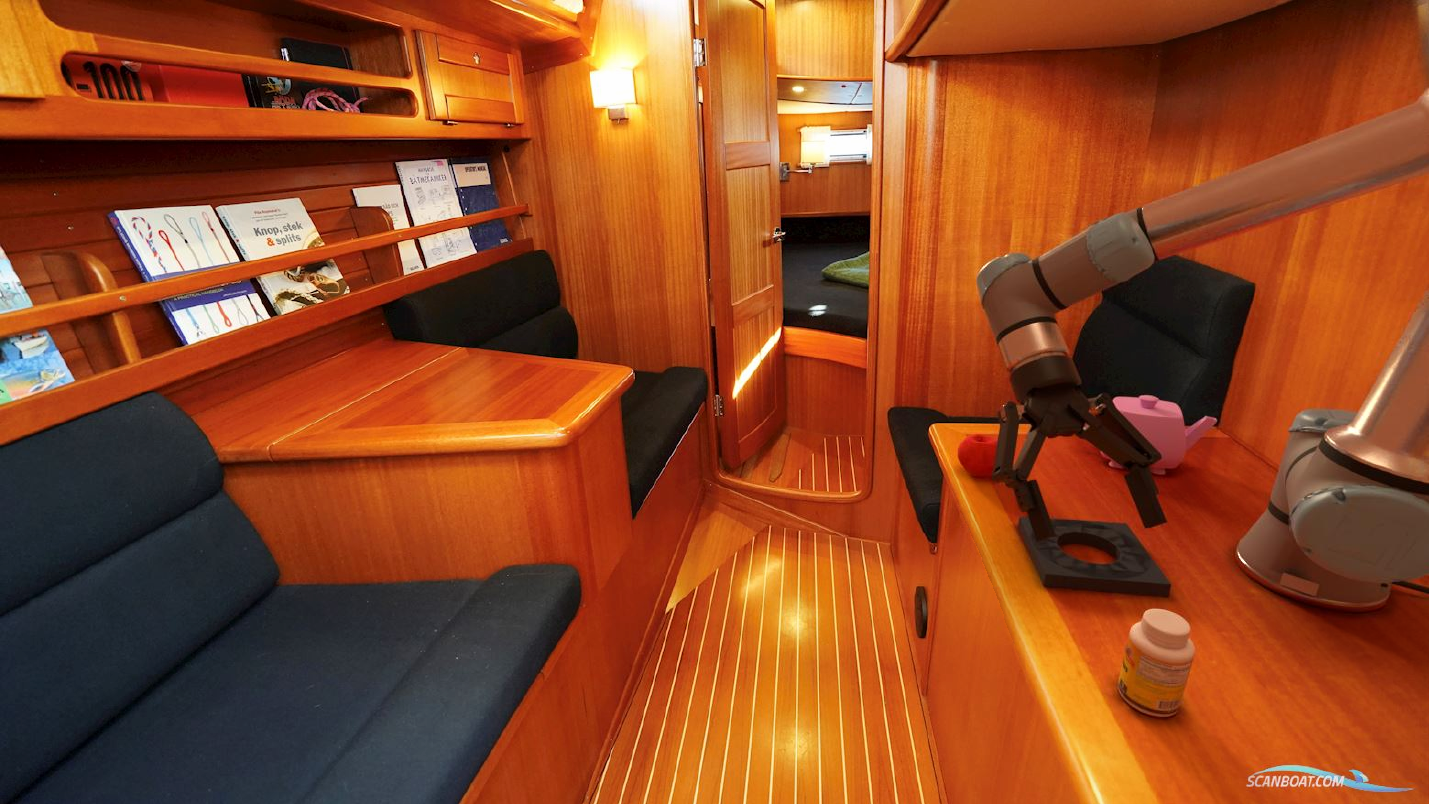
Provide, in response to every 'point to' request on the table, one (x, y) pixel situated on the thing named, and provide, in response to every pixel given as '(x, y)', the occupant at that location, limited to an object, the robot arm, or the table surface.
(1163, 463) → the teapot
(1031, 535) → the pad board
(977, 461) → the apple
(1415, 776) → the table surface
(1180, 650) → the supplement bottle
